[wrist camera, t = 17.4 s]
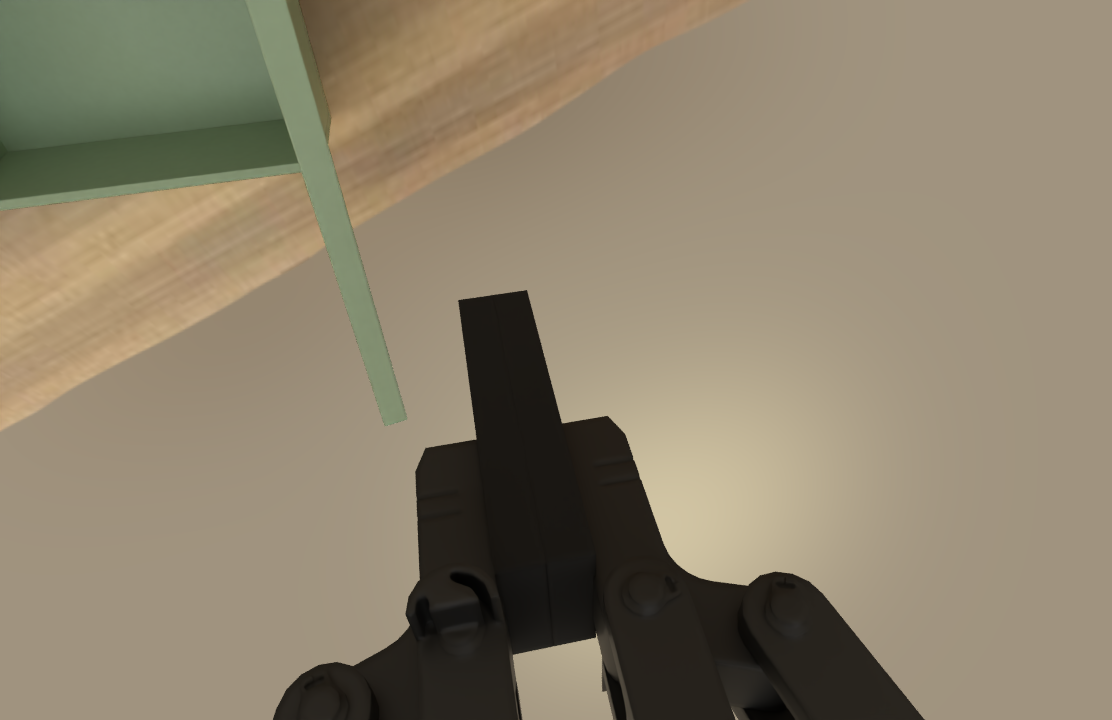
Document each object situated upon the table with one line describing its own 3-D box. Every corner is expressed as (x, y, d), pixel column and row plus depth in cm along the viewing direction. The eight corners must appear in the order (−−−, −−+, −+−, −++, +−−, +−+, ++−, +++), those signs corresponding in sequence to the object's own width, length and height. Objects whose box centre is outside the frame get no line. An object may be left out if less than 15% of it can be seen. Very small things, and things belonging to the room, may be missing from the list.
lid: (384, 426, 23) (407, 420, 23) (229, -47, 13) (271, -52, 13) (317, 175, 37) (332, 172, 37) (218, -146, 27) (238, -148, 27)
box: (7, 157, 40) (-47, 217, 35) (-180, -134, 30) (-293, -110, 25) (331, 118, 42) (325, 169, 37) (253, -164, 33) (229, -148, 27)
